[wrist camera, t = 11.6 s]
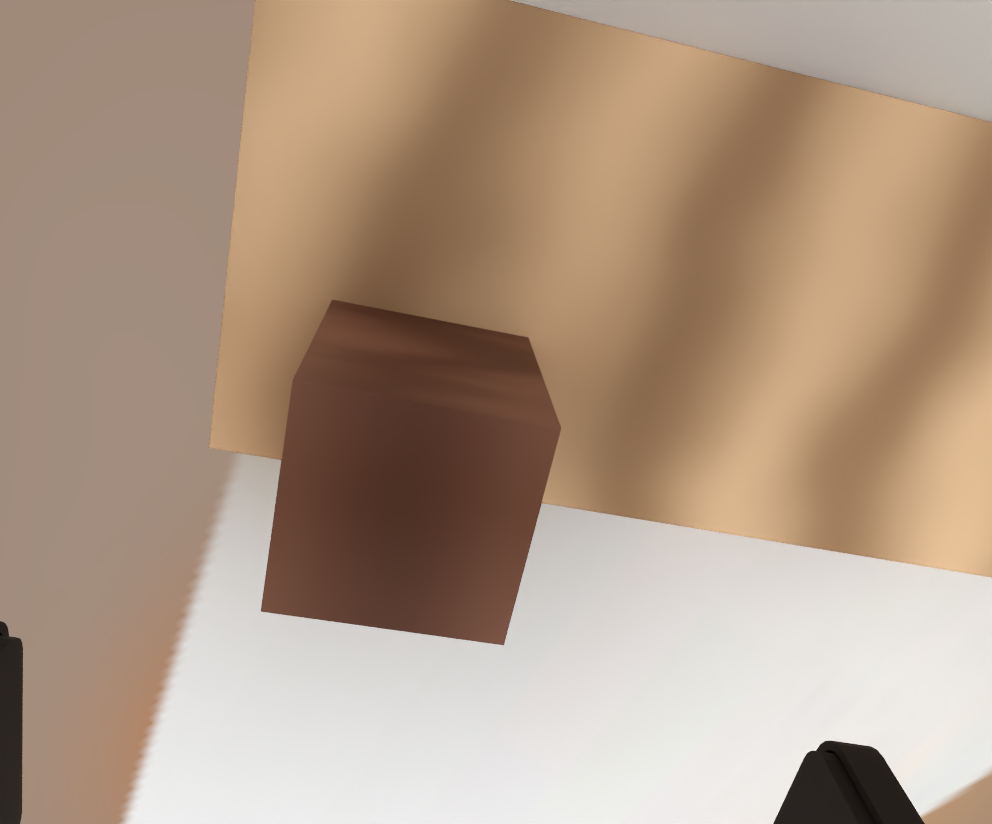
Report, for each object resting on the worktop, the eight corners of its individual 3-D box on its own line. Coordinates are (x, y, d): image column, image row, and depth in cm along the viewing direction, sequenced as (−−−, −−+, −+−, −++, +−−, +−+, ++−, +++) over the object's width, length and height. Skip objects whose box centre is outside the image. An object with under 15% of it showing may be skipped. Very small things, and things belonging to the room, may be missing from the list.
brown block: (522, 321, 22) (561, 427, 15) (477, 513, 24) (493, 683, 17) (338, 285, 22) (292, 380, 15) (308, 485, 24) (255, 651, 17)
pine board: (1162, 173, 22) (1227, 181, 21) (978, 547, 27) (1019, 581, 25) (278, -48, 19) (261, -63, 17) (226, 419, 23) (208, 447, 21)
